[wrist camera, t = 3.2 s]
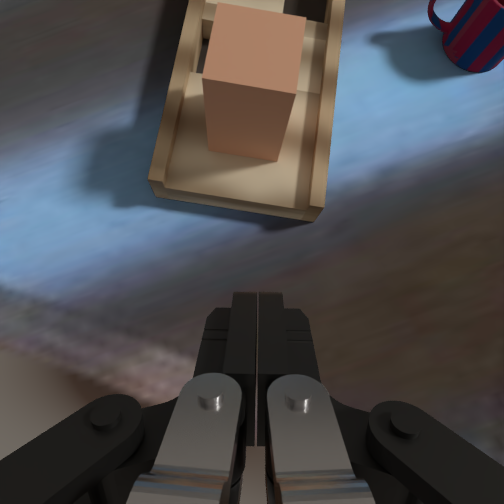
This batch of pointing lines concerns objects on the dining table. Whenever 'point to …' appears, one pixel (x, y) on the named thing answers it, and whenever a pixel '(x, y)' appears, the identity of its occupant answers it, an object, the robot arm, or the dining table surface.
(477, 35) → the mug
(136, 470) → the robot arm
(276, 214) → the tray
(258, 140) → the terracotta block
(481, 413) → the dining table surface
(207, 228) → the dining table surface
